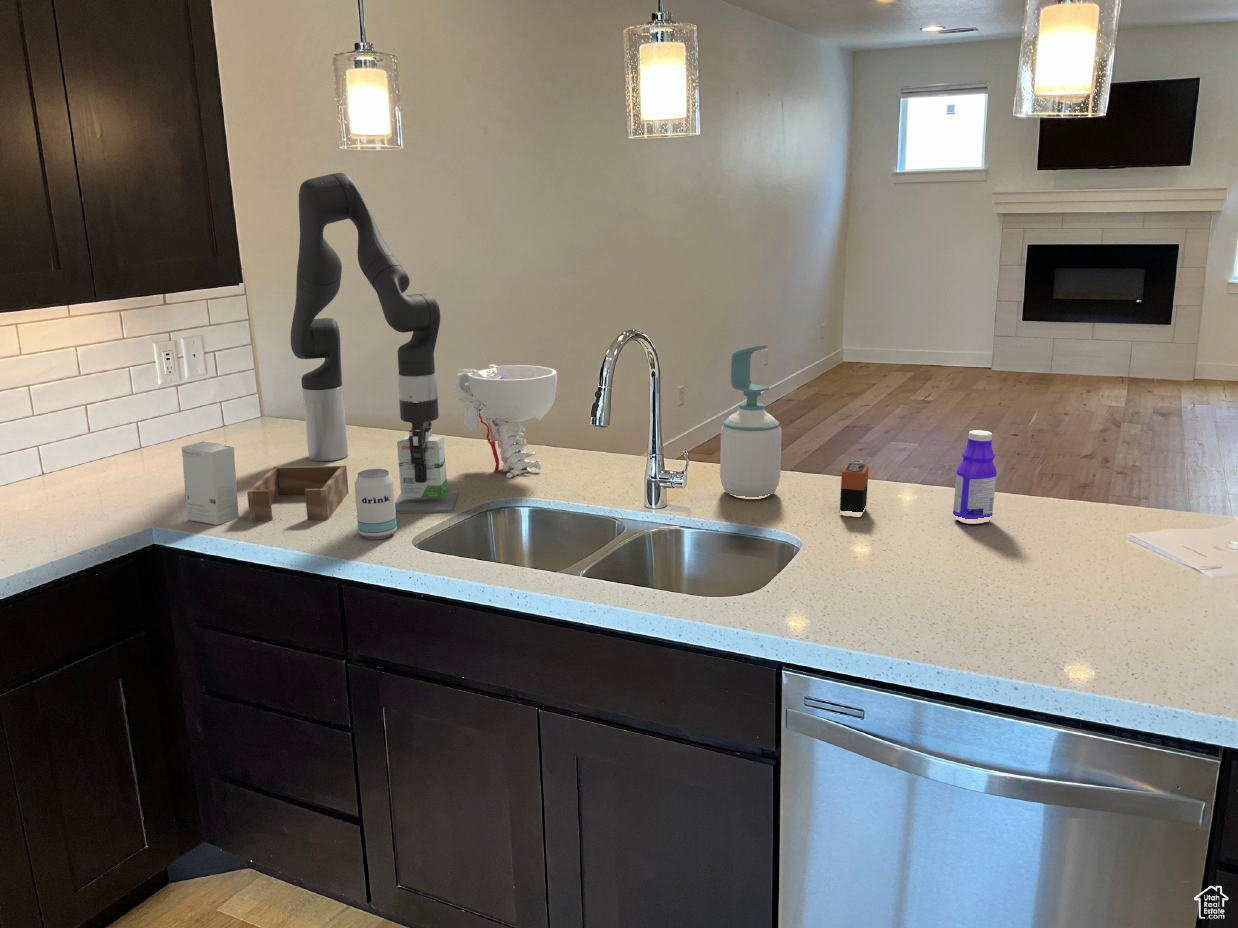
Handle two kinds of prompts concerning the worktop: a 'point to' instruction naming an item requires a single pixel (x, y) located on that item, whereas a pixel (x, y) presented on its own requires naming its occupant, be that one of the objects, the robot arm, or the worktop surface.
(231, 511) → the skincare box
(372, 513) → the beverage can
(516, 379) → the skull
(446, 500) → the mat
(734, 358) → the soap bottle
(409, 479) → the ink box
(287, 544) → the worktop surface
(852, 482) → the battery
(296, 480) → the crate
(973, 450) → the bottle
